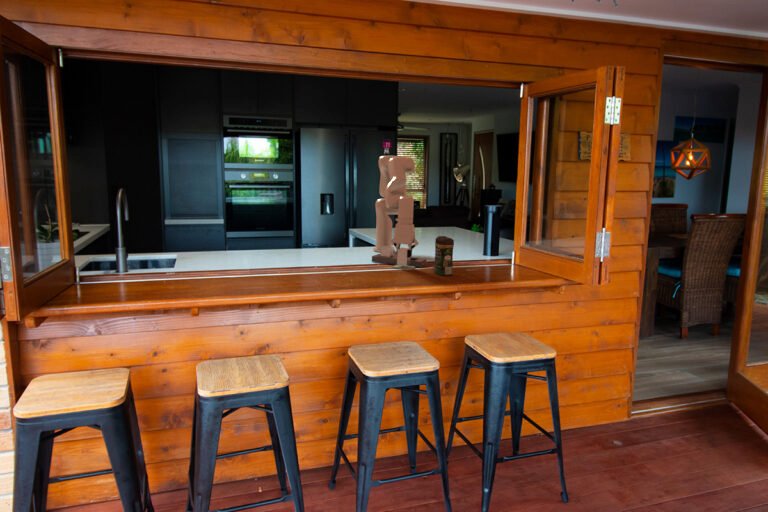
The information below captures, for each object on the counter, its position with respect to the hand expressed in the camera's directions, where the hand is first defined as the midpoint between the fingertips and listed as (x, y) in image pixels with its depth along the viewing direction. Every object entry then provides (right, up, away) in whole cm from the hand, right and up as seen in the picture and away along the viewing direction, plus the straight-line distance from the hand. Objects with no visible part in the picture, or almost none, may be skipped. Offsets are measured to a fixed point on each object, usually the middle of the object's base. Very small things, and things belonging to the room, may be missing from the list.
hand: (404, 256), depth 266 cm
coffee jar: (+19, -9, -10) cm, 23 cm away
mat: (0, -6, +1) cm, 6 cm away
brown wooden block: (-9, -3, +16) cm, 18 cm away
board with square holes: (-2, -4, +13) cm, 14 cm away
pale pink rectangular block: (0, -4, +1) cm, 4 cm away
